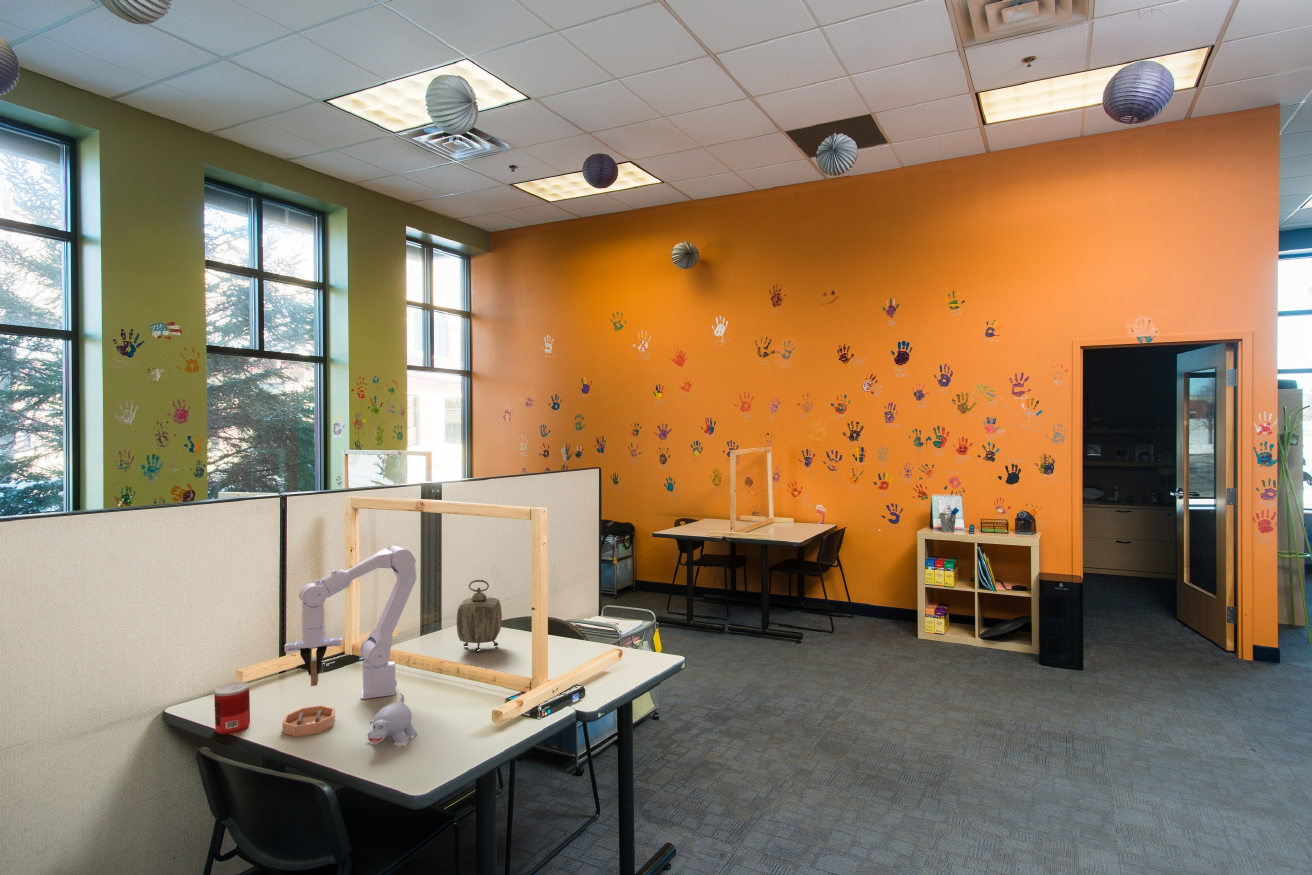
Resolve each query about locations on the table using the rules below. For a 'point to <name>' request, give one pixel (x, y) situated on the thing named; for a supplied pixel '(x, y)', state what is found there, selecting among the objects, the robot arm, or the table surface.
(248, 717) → the canned food
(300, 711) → the dish
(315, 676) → the brown rectangular block
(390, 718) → the hippopotamus toy
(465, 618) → the tabletop clock
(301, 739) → the table surface
